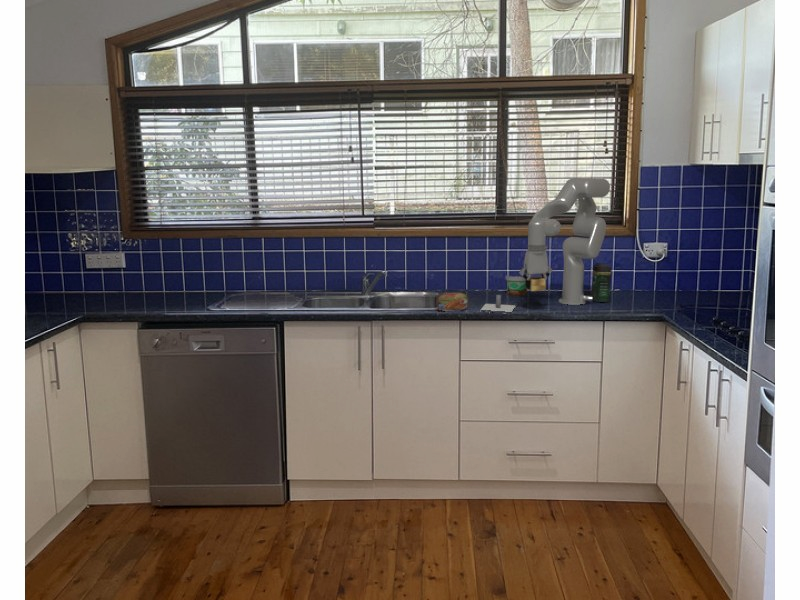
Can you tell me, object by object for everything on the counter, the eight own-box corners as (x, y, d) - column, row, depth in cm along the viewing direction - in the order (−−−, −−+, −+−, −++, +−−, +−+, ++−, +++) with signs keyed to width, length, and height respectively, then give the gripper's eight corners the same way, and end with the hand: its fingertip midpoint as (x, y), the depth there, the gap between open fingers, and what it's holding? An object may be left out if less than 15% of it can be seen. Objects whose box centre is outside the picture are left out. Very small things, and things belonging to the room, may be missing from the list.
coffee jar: (611, 303, 332) (613, 265, 329) (594, 303, 332) (597, 265, 329) (605, 299, 342) (607, 262, 338) (589, 299, 342) (591, 262, 338)
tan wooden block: (539, 287, 315) (539, 276, 314) (545, 290, 309) (545, 279, 308) (525, 288, 313) (526, 277, 312) (531, 291, 307) (532, 280, 306)
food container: (503, 295, 350) (503, 276, 348) (504, 293, 355) (505, 274, 353) (527, 297, 346) (528, 277, 344) (529, 295, 352) (529, 275, 350)
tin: (437, 312, 311) (437, 294, 310) (435, 310, 314) (435, 292, 313) (468, 310, 315) (469, 292, 314) (466, 309, 318) (466, 291, 317)
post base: (515, 307, 322) (515, 293, 320) (511, 313, 308) (512, 298, 307) (485, 305, 325) (485, 291, 324) (480, 311, 312) (481, 297, 311)
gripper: (550, 246, 313) (549, 285, 317) (514, 248, 309) (514, 287, 313) (558, 248, 306) (557, 288, 309) (521, 250, 301) (521, 291, 305)
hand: (535, 287), depth 311 cm, fingers closed on tan wooden block, 6 cm apart
